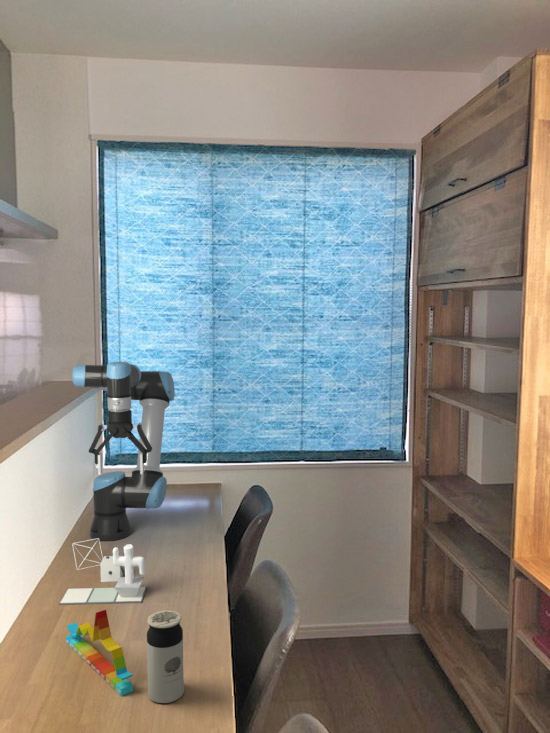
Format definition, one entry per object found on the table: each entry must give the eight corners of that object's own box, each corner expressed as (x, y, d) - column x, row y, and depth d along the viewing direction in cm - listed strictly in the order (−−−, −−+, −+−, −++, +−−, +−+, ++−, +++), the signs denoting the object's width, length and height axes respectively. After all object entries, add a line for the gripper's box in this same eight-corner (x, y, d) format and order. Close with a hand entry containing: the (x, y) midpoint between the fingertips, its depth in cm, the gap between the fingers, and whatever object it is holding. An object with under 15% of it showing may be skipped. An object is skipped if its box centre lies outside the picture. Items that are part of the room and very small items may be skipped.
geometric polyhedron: (107, 559, 224) (106, 537, 223) (100, 569, 215) (99, 547, 214) (76, 559, 224) (76, 538, 223) (69, 570, 215) (68, 548, 214)
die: (104, 574, 212) (104, 555, 211) (124, 573, 212) (124, 554, 211) (100, 582, 205) (100, 563, 205) (121, 582, 206) (120, 562, 205)
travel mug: (144, 688, 150) (142, 613, 148) (178, 680, 153) (177, 606, 151) (152, 708, 143) (151, 629, 141) (187, 699, 146) (186, 622, 144)
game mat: (67, 589, 200) (67, 588, 200) (146, 587, 202) (146, 586, 202) (58, 604, 190) (58, 603, 190) (141, 602, 192) (141, 601, 192)
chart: (65, 643, 170) (63, 588, 168) (77, 639, 172) (75, 584, 170) (120, 697, 147) (118, 634, 145) (133, 692, 149) (131, 629, 147)
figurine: (143, 599, 193) (142, 550, 191) (111, 599, 193) (109, 550, 191) (147, 588, 200) (146, 541, 199) (116, 588, 200) (115, 541, 198)
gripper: (78, 412, 208) (80, 476, 210) (156, 411, 209) (158, 475, 212) (83, 408, 215) (85, 470, 218) (159, 407, 217) (160, 469, 219)
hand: (121, 473), depth 215 cm, fingers open, 13 cm apart
